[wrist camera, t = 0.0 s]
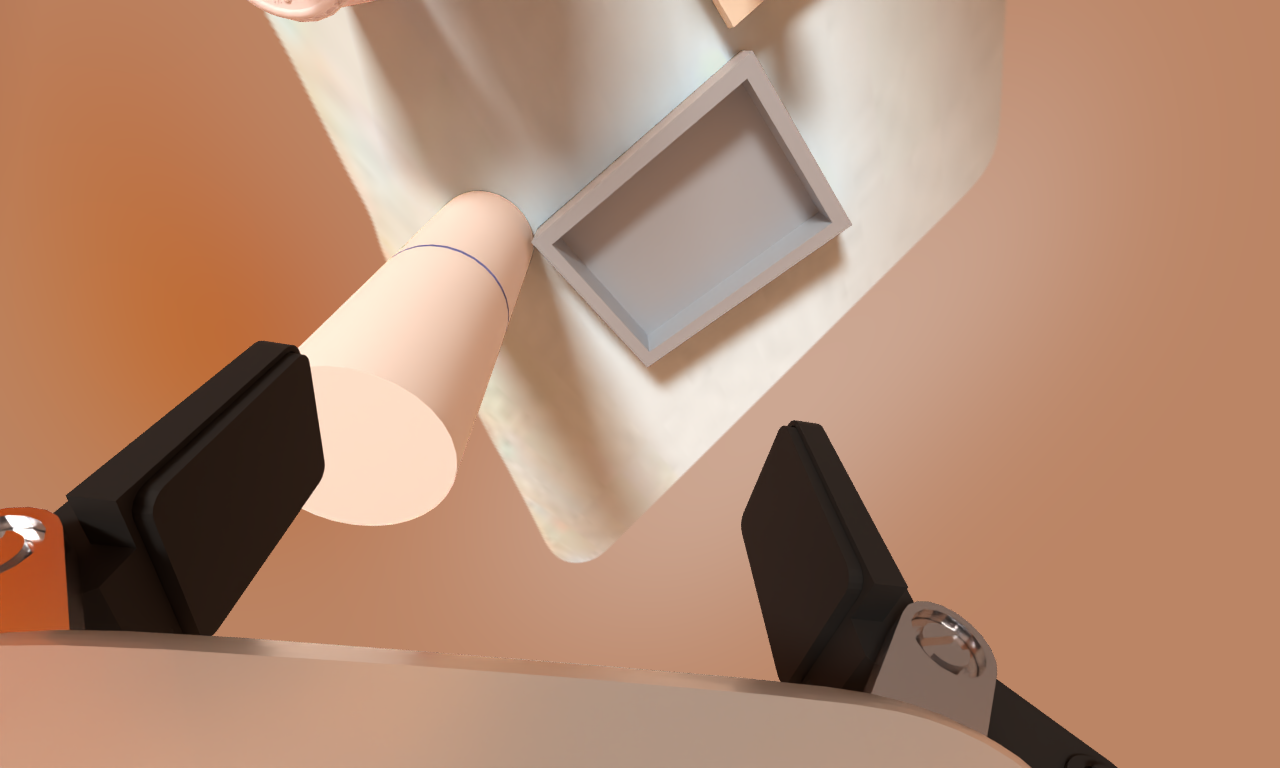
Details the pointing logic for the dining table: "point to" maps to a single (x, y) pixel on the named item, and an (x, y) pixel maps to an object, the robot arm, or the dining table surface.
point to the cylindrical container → (415, 362)
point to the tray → (695, 214)
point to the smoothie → (304, 8)
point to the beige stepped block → (735, 10)
